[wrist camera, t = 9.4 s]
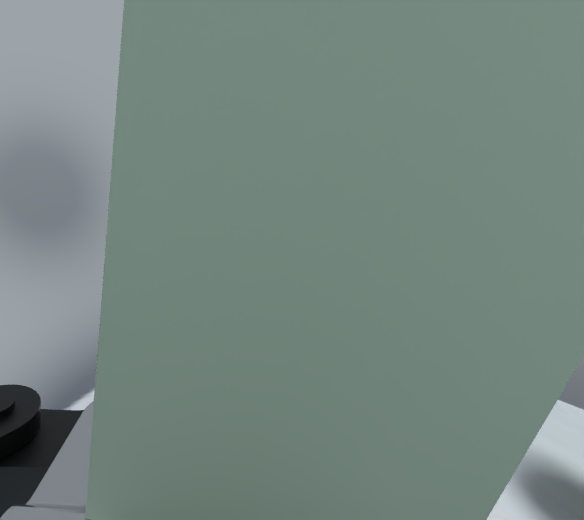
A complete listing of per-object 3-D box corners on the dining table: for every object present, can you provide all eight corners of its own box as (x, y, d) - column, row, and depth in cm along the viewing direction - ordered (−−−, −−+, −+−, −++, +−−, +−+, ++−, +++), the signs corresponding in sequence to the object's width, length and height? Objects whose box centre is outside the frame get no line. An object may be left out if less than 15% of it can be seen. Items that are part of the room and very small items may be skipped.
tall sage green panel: (191, 548, 15) (297, 69, 9) (284, 582, 14) (457, 108, 9) (57, 878, 8) (136, -179, 2) (227, 954, 8) (822, -43, 2)
